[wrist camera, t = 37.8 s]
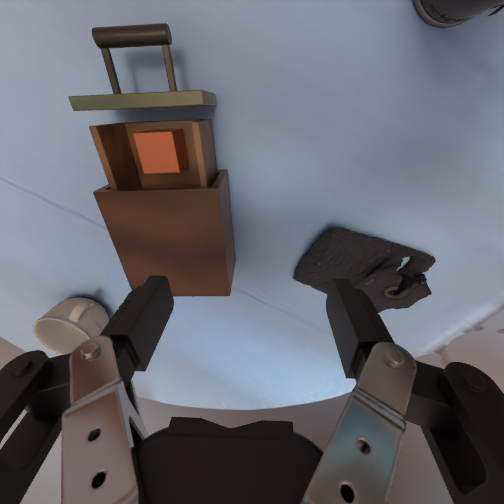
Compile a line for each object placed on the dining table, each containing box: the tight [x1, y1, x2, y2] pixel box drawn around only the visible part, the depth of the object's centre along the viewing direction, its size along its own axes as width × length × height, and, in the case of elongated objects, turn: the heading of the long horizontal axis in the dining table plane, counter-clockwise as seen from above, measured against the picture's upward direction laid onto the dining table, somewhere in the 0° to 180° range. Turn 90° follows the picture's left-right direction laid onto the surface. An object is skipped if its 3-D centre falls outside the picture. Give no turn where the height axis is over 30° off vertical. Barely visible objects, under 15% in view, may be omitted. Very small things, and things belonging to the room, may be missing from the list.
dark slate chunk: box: [293, 227, 436, 313], centre depth 40 cm, size 15×22×5 cm
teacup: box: [33, 298, 109, 355], centre depth 46 cm, size 14×11×8 cm
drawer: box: [69, 23, 217, 189], centre depth 28 cm, size 20×13×7 cm, turn 2°
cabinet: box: [93, 170, 236, 296], centre depth 34 cm, size 16×14×9 cm
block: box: [133, 128, 189, 174], centre depth 29 cm, size 4×4×4 cm
